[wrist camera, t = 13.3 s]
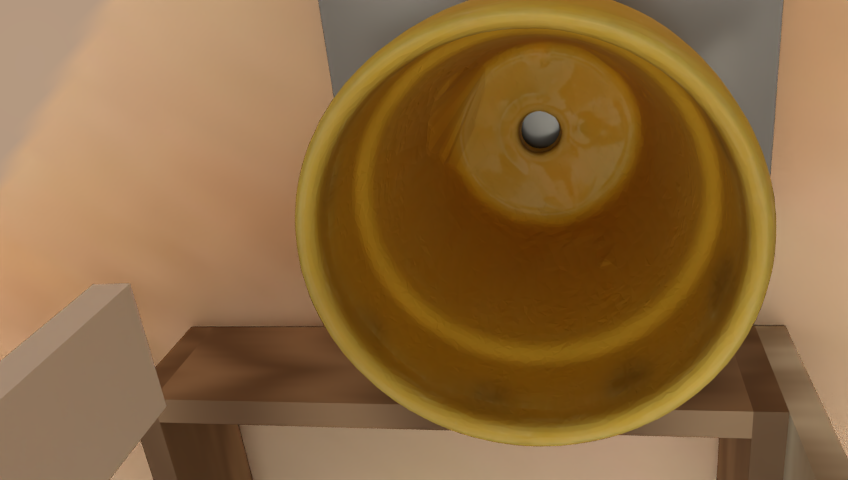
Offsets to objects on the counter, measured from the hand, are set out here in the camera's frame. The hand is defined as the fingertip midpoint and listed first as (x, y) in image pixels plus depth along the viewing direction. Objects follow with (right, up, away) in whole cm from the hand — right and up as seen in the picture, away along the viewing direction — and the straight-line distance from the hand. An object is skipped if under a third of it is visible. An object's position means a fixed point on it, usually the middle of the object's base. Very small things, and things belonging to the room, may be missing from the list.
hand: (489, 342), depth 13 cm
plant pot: (+3, +6, +12) cm, 13 cm away
